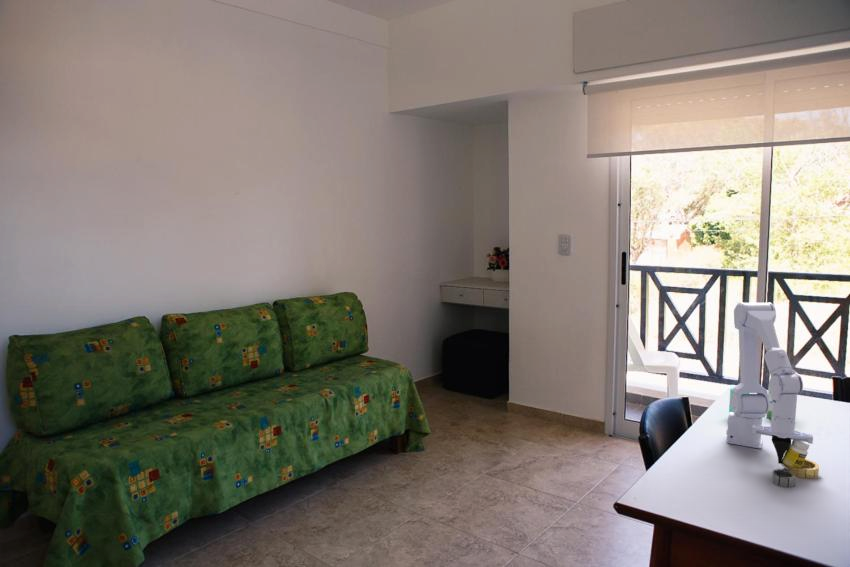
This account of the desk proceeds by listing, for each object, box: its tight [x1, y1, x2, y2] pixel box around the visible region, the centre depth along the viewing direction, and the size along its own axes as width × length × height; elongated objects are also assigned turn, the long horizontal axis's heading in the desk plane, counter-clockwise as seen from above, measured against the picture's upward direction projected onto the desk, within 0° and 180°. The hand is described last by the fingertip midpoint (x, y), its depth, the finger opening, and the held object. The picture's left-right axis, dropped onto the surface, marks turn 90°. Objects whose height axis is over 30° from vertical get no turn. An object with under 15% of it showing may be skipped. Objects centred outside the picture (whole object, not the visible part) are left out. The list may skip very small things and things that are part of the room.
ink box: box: [766, 385, 773, 419], centre depth 211 cm, size 8×5×12 cm, turn 146°
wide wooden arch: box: [786, 458, 820, 480], centre depth 167 cm, size 7×8×2 cm
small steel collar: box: [771, 469, 796, 489], centre depth 161 cm, size 5×5×2 cm
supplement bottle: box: [780, 439, 810, 470], centre depth 168 cm, size 5×5×8 cm
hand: (779, 462), depth 170 cm, fingers closed, pressing on supplement bottle
